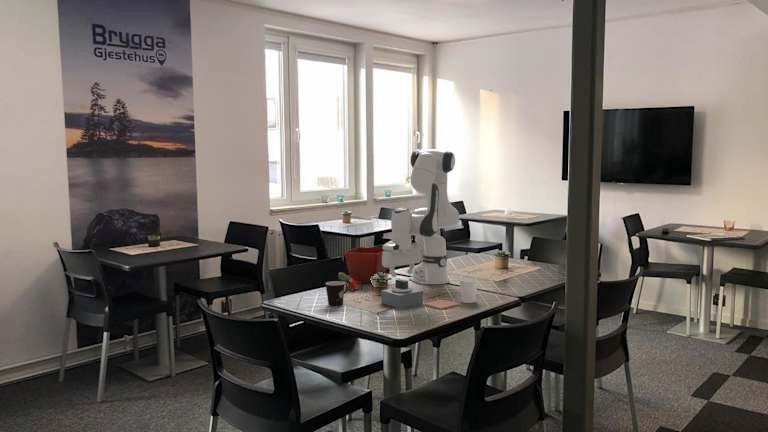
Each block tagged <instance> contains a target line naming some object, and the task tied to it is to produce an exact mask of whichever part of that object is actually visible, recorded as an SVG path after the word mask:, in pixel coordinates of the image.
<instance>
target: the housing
mask: <svg viewBox="0 0 768 432" xmlns="http://www.w3.org/2000/svg"><path fill="white" fill-rule="evenodd" d="M380 293H381V296H380V297H381V299H380V300H381V303H384V304H383V305H385V304H387V305H386V306H388V305H390V306H389V307H391V306H393V307H392V308H396V309H399V310H402V309H407V308H410V307H416V306H420V305H424V292H423V290H421V289H417V288H413V287H412V291H411V292H408V293H395V292H392V288H388V289H387V288H386V289H382V290H381V291H380ZM381 303H380V304H381Z"/></svg>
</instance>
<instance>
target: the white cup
mask: <svg viewBox="0 0 768 432" xmlns="http://www.w3.org/2000/svg"><path fill="white" fill-rule="evenodd" d="M477 290H478V279H477V278H473V277H471V278H470V277H464V278H460V279H459V292H460V293H459V295H460V301H461V303H464V304H474V303H476V302H477V294H478V293H477V292H478V291H477Z"/></svg>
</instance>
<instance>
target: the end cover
mask: <svg viewBox="0 0 768 432" xmlns="http://www.w3.org/2000/svg"><path fill="white" fill-rule="evenodd" d="M412 288H413V287H412V286H409V281H408V280H405V279H401V278H398V279H397V278H396V279H395V285H394V286H391V289H392V292H395V293H408V292H411V291H412Z"/></svg>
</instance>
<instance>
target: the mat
mask: <svg viewBox="0 0 768 432" xmlns="http://www.w3.org/2000/svg"><path fill="white" fill-rule="evenodd" d="M423 305H424V306H425V307H429V308H433V309H435V310H440V311H441V310H446V309H447V310H448V309H452V308H455V307H459V306H460V303H457V302H453V301H450V300H445V299H437V300H433V301H429V302H425V303H424V302H423Z"/></svg>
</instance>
